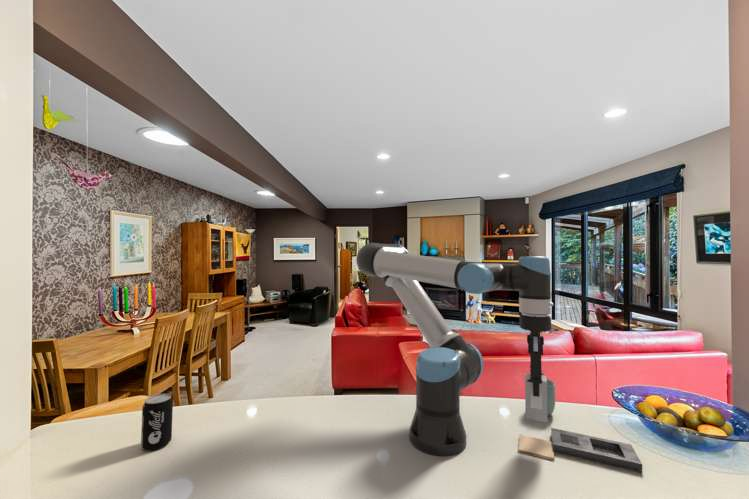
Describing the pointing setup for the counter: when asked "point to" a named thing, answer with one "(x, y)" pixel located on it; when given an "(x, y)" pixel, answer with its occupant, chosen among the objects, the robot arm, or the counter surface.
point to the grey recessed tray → (583, 449)
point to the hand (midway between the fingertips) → (536, 403)
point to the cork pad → (536, 447)
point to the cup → (550, 396)
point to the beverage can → (156, 422)
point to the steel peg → (538, 413)
